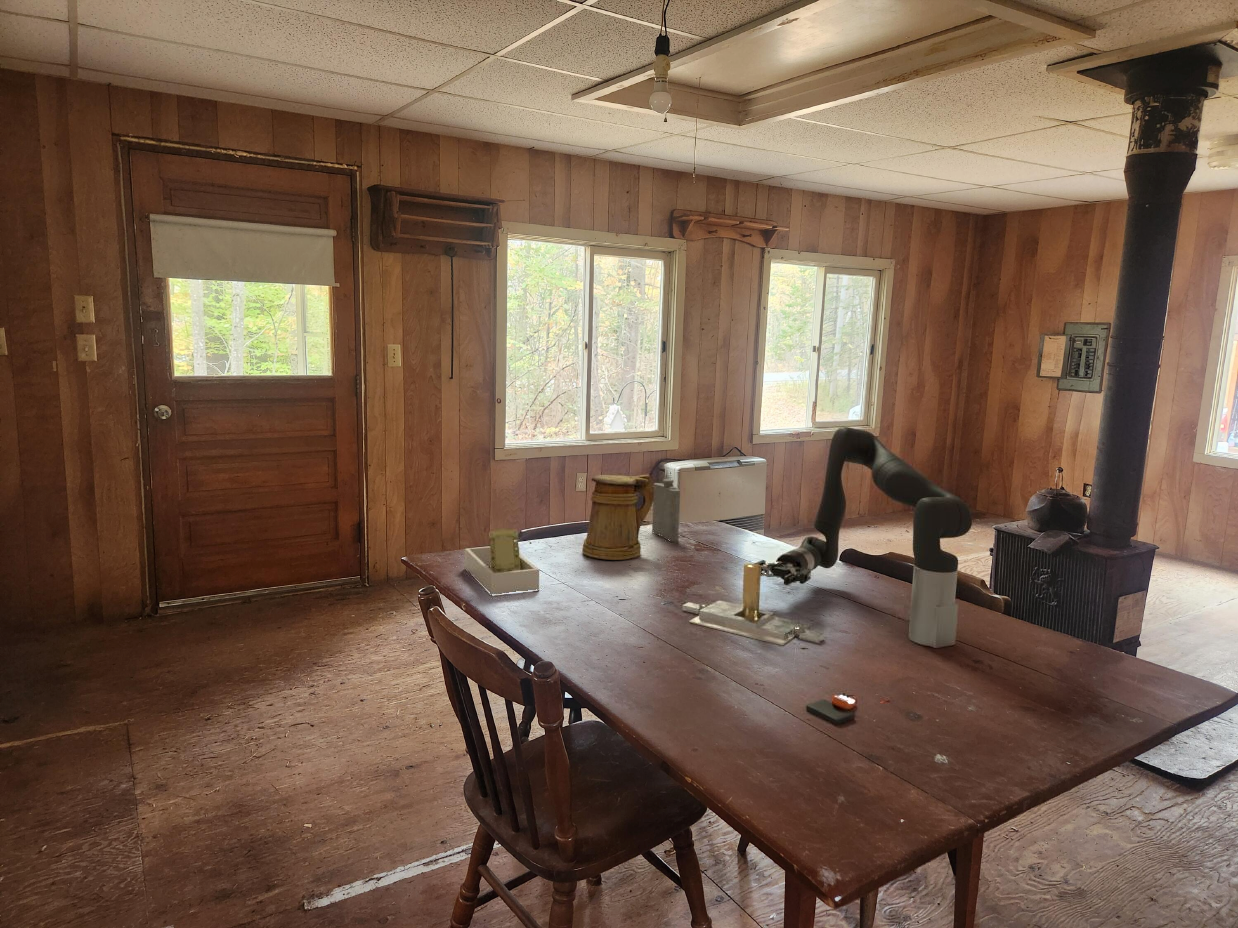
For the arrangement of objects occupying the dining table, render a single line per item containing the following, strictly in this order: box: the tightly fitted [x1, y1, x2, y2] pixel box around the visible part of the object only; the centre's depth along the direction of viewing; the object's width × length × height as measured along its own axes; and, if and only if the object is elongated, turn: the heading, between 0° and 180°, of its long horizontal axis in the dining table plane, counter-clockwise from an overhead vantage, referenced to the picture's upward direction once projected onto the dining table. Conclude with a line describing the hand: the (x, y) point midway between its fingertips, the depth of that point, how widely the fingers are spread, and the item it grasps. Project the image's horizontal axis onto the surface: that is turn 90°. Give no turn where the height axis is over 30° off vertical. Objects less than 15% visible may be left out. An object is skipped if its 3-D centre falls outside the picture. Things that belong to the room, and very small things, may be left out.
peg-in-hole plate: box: [682, 600, 825, 647], centre depth 192 cm, size 36×16×2 cm, turn 55°
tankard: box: [581, 473, 654, 561], centre depth 254 cm, size 18×24×25 cm
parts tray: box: [464, 546, 540, 595], centre depth 224 cm, size 28×13×6 cm, turn 25°
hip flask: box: [651, 478, 681, 542], centre depth 278 cm, size 16×4×20 cm, turn 24°
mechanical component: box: [488, 528, 520, 573], centre depth 222 cm, size 8×17×20 cm, turn 8°
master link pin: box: [741, 562, 762, 621], centre depth 192 cm, size 4×4×14 cm
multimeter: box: [805, 692, 893, 726], centre depth 151 cm, size 18×12×3 cm, turn 121°
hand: (769, 578), depth 199 cm, fingers open, 8 cm apart
